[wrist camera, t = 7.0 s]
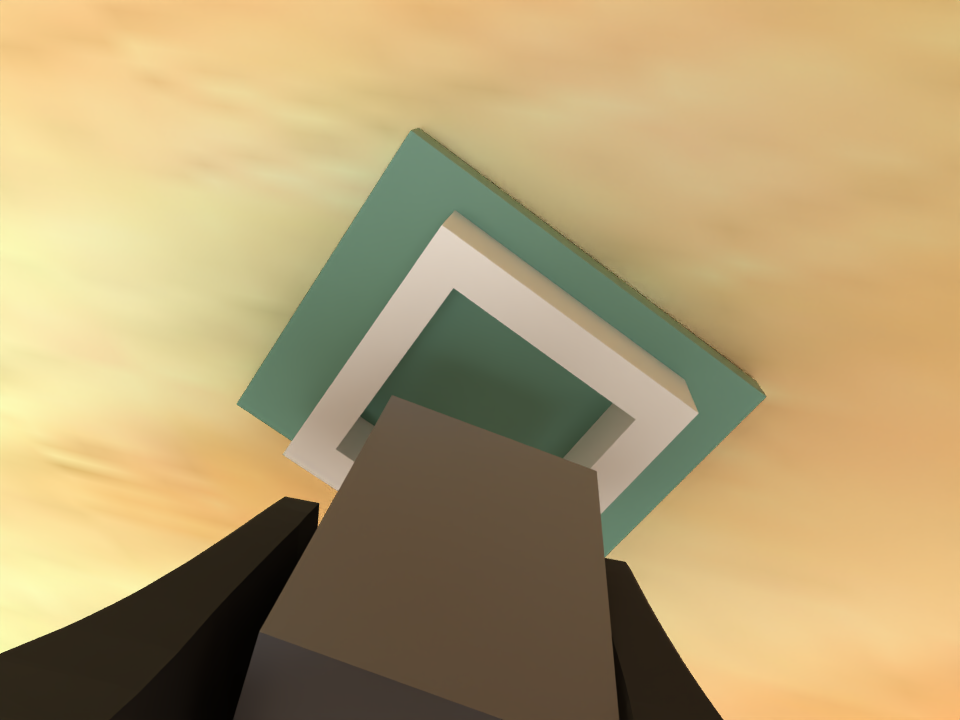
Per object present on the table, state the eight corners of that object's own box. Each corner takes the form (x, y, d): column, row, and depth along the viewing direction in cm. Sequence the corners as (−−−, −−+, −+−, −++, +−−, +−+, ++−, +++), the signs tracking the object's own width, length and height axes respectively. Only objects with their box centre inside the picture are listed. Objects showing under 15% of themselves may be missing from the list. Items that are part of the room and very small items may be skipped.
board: (756, 381, 19) (766, 396, 18) (550, 590, 22) (549, 612, 21) (418, 128, 17) (410, 130, 16) (251, 390, 20) (236, 404, 20)
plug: (597, 470, 13) (623, 762, 7) (493, 682, 15) (451, 1034, 9) (392, 395, 13) (259, 632, 7) (316, 618, 15) (167, 936, 9)
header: (684, 379, 18) (698, 413, 16) (516, 559, 20) (511, 606, 19) (455, 210, 17) (442, 225, 15) (309, 419, 19) (282, 454, 18)
